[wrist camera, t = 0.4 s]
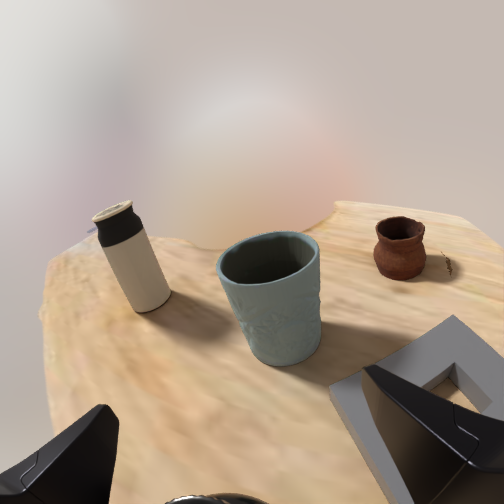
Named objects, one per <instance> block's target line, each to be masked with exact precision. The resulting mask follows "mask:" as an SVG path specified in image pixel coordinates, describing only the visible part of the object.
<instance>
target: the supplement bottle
mask: <svg viewBox="0 0 504 504" xmlns="http://www.w3.org/2000/svg"><path fill="white" fill-rule="evenodd" d="M165 504H268V503H266V502H264V501H262V500H260V499H257V498H254V497H251V496H248V495H243V494H237V493H218V494H211V495H207V496H204V495H200V496H195V495H190V496H188V497H186V496H182V497H180V498H179V499H173V500H172V501H171V502H166V503H165Z"/></svg>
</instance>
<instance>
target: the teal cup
mask: <svg viewBox="0 0 504 504" xmlns="http://www.w3.org/2000/svg"><path fill="white" fill-rule="evenodd" d="M216 271H217V274H218V276H219V279H220V281H221V283H222V286H223V288H224V290H225V292H226V294H227V297H228V299H229V302H230V304H231V307H232V309H233V311H234V313H235V315H236V318H237V319H238V320H239V324H240V327H241V329H242V331H243V333H244V335H245V337H246V339H247V341H248V343H249V346H250V349H251V351H252V352H253V354H254V356H255V357H256V358H257V359H259V360H260V361H261V362H263V363H265V364H268V365H272V366H289V365H294V364H297V363H299V362H301V361H303V360H305V359H307V358H308V357H309V356H311V355H312V354H313V353H314V352H315V350H316V349H317V347H318V345H319V343H320V339H321V318H320V302H321V301H320V298H319V292H320V254H319V246H318V244H317V243H316V241H315V240H314V239H312V238H311V237H310V236H308V235H305V234H303V233H300V232H294V231H274V232H268V233H262V234H259V235H255V236H252V237H249V238H246V239H244V240H242V241H240V242H238V243H236V244H234V245H233V246H231V247H230V248H228V249H227V250H226V251H225V252H224V253H223V254H222V255H221V256H220V257H219V259H218V262H217V264H216Z"/></svg>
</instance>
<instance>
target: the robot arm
mask: <svg viewBox="0 0 504 504" xmlns="http://www.w3.org/2000/svg"><path fill="white" fill-rule="evenodd" d="M361 387H362V391H363V393H364V396H365V399H366V401H367V404H368V407H369V410H370V412H371V415H372V418H373V421H374V423H375V426H376V428H377V430H378V432H379V434H380V436H381V438H382V440H383V441H384V443H385V445H386V447H387V449H388V451H389V453H390V455H391V457H392V459H393V461H394V463H395V465H396V467H397V469H398V471H399V473H400V475H401V477H402V479H403V481H404V483H405V485H406V487H407V489H408V491H409V493H410V496H411V498H412V500H413V502H414V504H504V421H503V420H499V419H495V418H492V417H488V416H485V415H482V414H479V413H476V412H474V411H471V410H469V409H466V408H464V407H462V406H460V405H457V404H453V402H451V401H449V400H446V399H444V398H442V397H440V396H438V395H436V394H434V393H432V392H430V391H428V390H426V389H424V388H421V387H419V386H417V385H415V384H413V383H411V382H409V381H407V380H405V379H403V378H401V377H399V376H397V375H395V374H393V373H392V372H390V371H388V370H386V369H384V368H382V367H380V366H378V365H376V364H371V365H368V366H365V367H363V368H362V379H361ZM118 433H119V420H118V418H117V416H116V415H115V414H114V412H113V411H112V409H111V408H110V407H109V406H108V405H106V404H98V405H96V406H95V407H94V408H93V409H91V410H90V411H89V412H87V413H86V414H85V415H84V416H82V417H81V418H80V419H78V420H77V421H76V422H74V423H73V424H72V425H71V426H69V427H68V428H67V429H65V430H64V431H63V432H61V433H60V434H59V435H57V436H56V437H55V438H53V439H52V440H51V441H50V442H48V443H47V444H45V445H44V446H43V447H41V448H40V449H39V450H38V451H36V452H35V453H34V454H32V455H30V456H29V457H28V458H26V459H25V460H23V461H22V462H20V463H18V464H17V465H15V466H13V467H12V468H10V469H8V470H6V471H4V472H3V473H1V474H0V504H109V497H110V491H111V484H112V478H113V472H114V467H115V461H116V454H117V443H118Z"/></svg>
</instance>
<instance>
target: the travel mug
mask: <svg viewBox="0 0 504 504" xmlns="http://www.w3.org/2000/svg"><path fill="white" fill-rule="evenodd" d="M132 203H133V202H132V201H131V200H129V201H125V202H122V203H119V204H116V205H114V206H112V207H110V208H108V209H106V210H104V211H102V212H100V213H98V214H97V215H96V216H94V217H93V218H92V221H93V222H94V223H95V224H96V226H97V227H98V240H99V242H100V244H101V246H102V249H103V251H104V253H105V255H106V257H107V259H108V262H109V264H110V266H111V268H112V270H113V272H114V274H115V276H116V278H117V280H118V282H119V284H120V286H121V288H122V290H123V291H124V293H125V295H126V297H127V299H128V301H129V303H130V304H131V306H132V308H133V310H134V311H136V312H147V311H151V310H154V309H156V308H158V307H159V306H161V305H162V304H163V303H164V302H165V301H166V300H167V299H168V298H169V296H170V294H171V290H170V288H169V286H168V284H167V281H166V279H165V277H164V275H163V272H162V270H161V268H160V266H159V263H158V261H157V259H156V256H155V254H154V252H153V249H152V247H151V244H150V242H149V239H148V237H147V234H146V232H145V229H144V227H143V224H142V222H141V219H140V218H139V217H138V216H137V215H136V214H135V213H134V212H133V208H132Z"/></svg>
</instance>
